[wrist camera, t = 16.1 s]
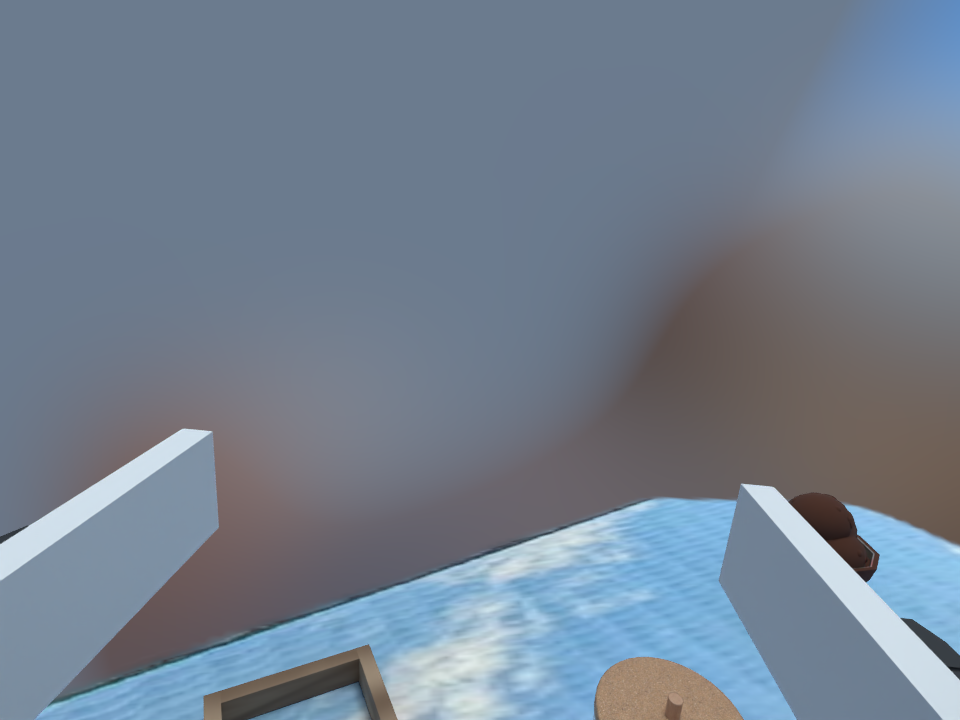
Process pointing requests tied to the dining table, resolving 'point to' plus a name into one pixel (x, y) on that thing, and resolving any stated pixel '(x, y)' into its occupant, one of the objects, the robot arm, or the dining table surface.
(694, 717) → the lidded jar
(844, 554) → the ice cream bowl
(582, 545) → the dining table surface
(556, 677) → the dining table surface
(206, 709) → the wooden frame
